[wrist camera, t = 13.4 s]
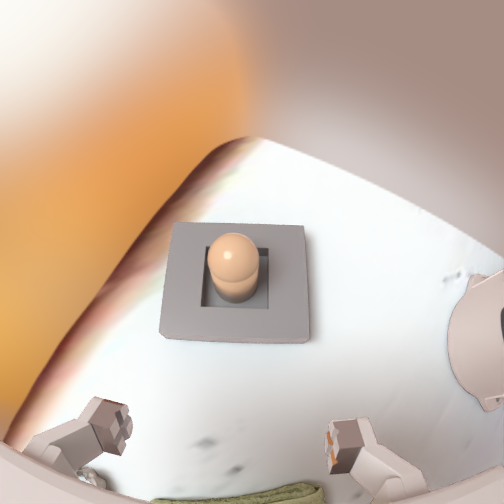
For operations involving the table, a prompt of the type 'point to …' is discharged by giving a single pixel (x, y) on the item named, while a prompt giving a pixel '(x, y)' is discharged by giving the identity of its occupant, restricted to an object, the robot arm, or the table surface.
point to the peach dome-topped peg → (234, 267)
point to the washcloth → (268, 497)
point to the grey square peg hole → (243, 314)
